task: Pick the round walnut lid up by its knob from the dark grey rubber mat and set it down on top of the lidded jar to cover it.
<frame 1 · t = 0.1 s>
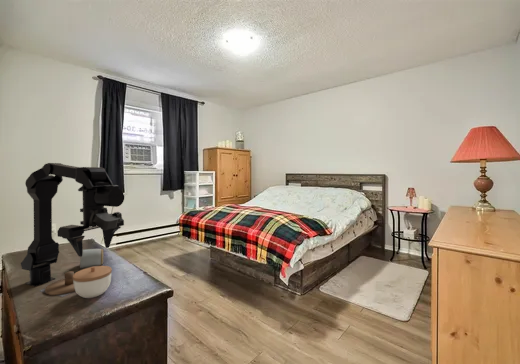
hand: (94, 251, 80), 15 cm above the table, fingers open, 9 cm apart
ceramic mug: (91, 265, 106), on the table
mat: (69, 286, 86), on the table
lidded jar: (93, 295, 81), on the table
lid: (69, 285, 86), resting on mat
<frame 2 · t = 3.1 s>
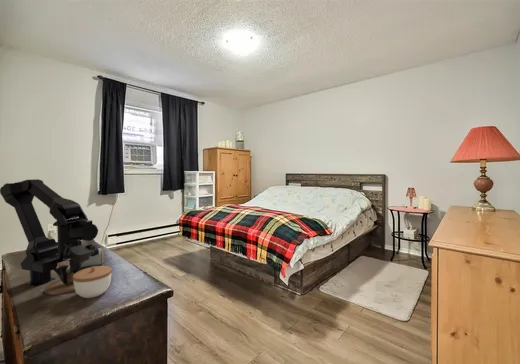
hand: (69, 281, 86), 2 cm above the table, fingers closed on lid, 3 cm apart
lid: (69, 285, 86), resting on mat, touching gripper
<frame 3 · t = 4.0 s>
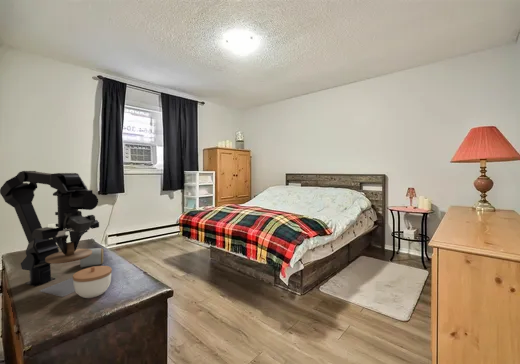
hand: (69, 252, 86), 13 cm above the table, fingers closed on lid, 3 cm apart
lid: (69, 256, 86), point 11 cm above the table, touching gripper
when the fingers open (12 cm above the table, at t = 5.2 s): lid stays where it is, resting on lidded jar.
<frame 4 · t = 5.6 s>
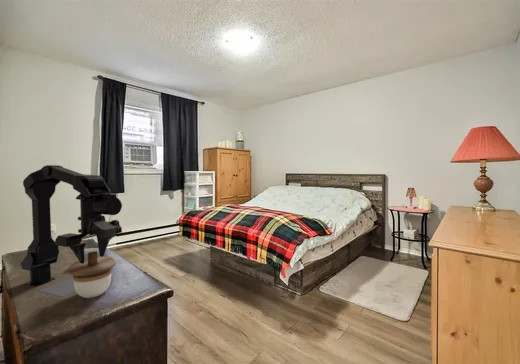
hand: (92, 259, 81), 12 cm above the table, fingers open, 6 cm apart
lidded jar: (93, 295, 81), on the table, touching lid
lid: (92, 266, 81), point 9 cm above the table, touching lidded jar
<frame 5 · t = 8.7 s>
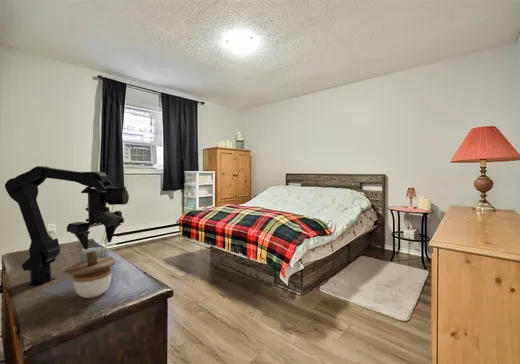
hand: (98, 245, 92), 13 cm above the table, fingers open, 9 cm apart
at the end: lid inside the target area on the lidded jar (0.1 cm from its centre), point 9.6 cm above the lidded jar's base; the gripper is holding nothing; lid moved 15.8 cm from its start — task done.
